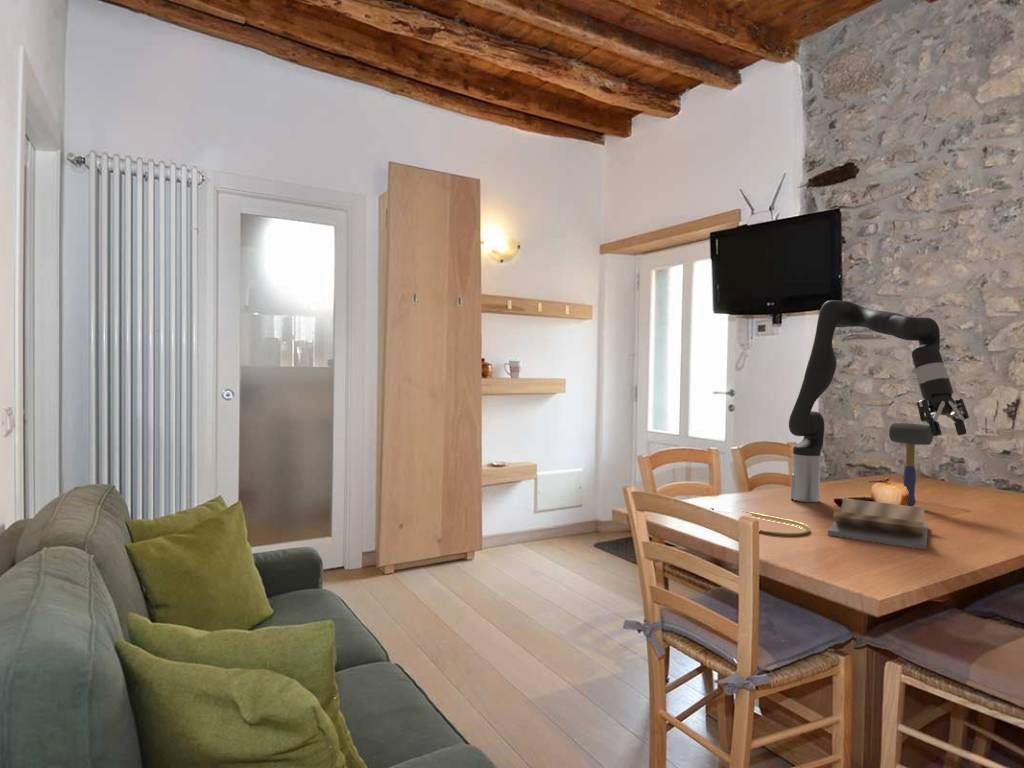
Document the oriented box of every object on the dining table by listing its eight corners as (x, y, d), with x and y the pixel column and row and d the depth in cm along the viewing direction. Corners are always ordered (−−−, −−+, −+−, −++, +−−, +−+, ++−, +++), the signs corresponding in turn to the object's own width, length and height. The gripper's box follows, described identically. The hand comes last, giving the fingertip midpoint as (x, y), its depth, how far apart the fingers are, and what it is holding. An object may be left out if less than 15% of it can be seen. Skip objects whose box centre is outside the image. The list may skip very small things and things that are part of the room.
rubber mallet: (932, 508, 217) (935, 424, 216) (925, 511, 212) (927, 425, 211) (893, 501, 226) (895, 421, 226) (885, 504, 222) (888, 422, 221)
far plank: (840, 517, 194) (840, 513, 194) (843, 502, 200) (843, 498, 199) (923, 528, 182) (923, 524, 181) (924, 511, 187) (924, 507, 187)
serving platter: (715, 510, 212) (716, 505, 212) (820, 531, 186) (820, 525, 186) (685, 518, 200) (686, 513, 200) (793, 542, 174) (793, 536, 174)
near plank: (833, 515, 181) (833, 510, 181) (836, 523, 186) (836, 518, 187) (922, 527, 168) (922, 522, 169) (922, 535, 174) (922, 530, 174)
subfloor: (827, 535, 180) (828, 524, 180) (840, 516, 203) (840, 507, 202) (926, 550, 166) (926, 538, 166) (927, 528, 189) (927, 518, 189)
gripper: (942, 384, 183) (958, 437, 178) (903, 385, 180) (918, 438, 175) (965, 376, 176) (982, 431, 171) (924, 376, 173) (940, 432, 168)
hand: (949, 435), depth 173 cm, fingers open, 8 cm apart
